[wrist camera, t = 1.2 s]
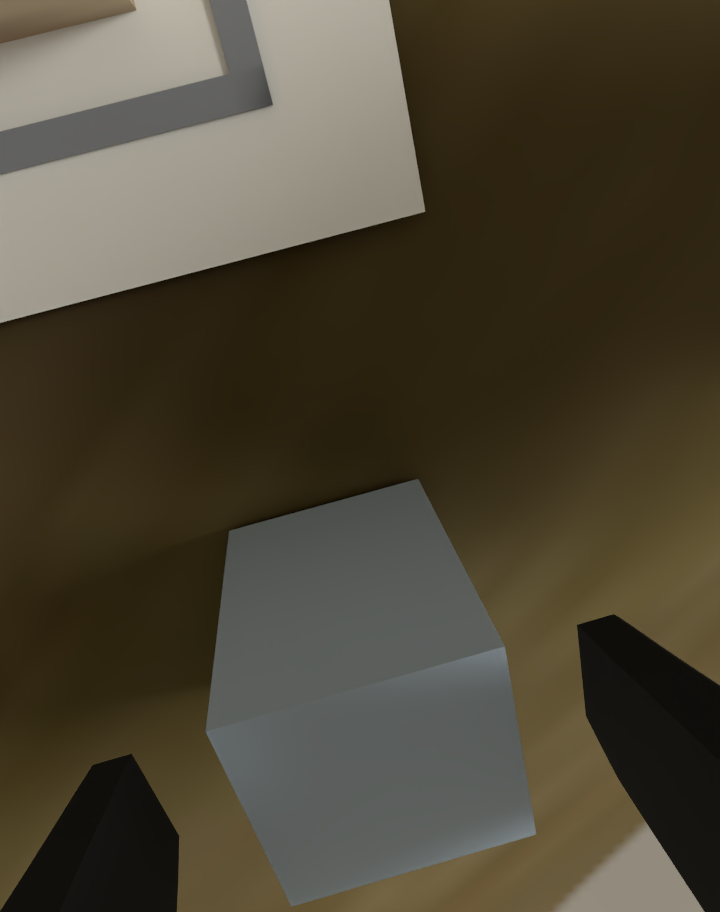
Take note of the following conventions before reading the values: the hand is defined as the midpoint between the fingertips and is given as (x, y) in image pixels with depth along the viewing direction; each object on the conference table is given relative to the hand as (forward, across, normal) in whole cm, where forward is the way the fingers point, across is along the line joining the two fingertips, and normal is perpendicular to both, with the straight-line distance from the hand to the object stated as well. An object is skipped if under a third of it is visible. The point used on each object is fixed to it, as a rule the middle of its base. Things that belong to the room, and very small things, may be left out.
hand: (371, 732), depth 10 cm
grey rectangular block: (+4, 0, 0) cm, 4 cm away
